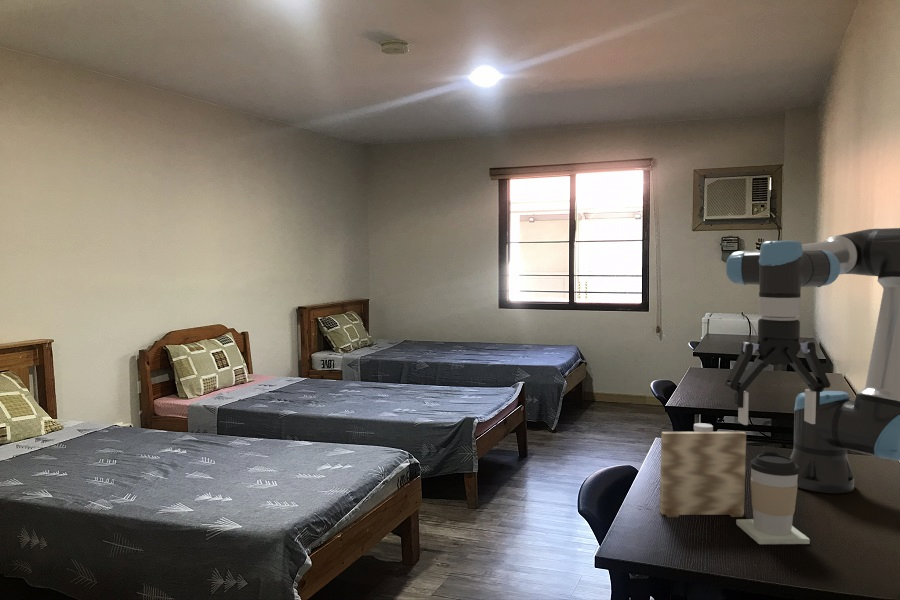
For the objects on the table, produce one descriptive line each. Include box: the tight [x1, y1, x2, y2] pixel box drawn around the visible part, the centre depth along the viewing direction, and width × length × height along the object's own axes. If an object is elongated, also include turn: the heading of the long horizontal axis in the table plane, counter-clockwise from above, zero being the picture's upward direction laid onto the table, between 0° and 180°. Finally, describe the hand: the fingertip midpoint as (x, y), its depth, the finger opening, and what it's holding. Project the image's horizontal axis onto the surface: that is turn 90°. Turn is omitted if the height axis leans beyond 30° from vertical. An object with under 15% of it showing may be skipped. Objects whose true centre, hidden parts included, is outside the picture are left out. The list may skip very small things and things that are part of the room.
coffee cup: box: [749, 451, 799, 536], centre depth 136 cm, size 9×9×15 cm
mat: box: [735, 518, 811, 545], centre depth 136 cm, size 10×10×1 cm
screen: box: [659, 431, 747, 518], centre depth 146 cm, size 18×4×18 cm, turn 91°
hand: (776, 423), depth 135 cm, fingers open, 13 cm apart
